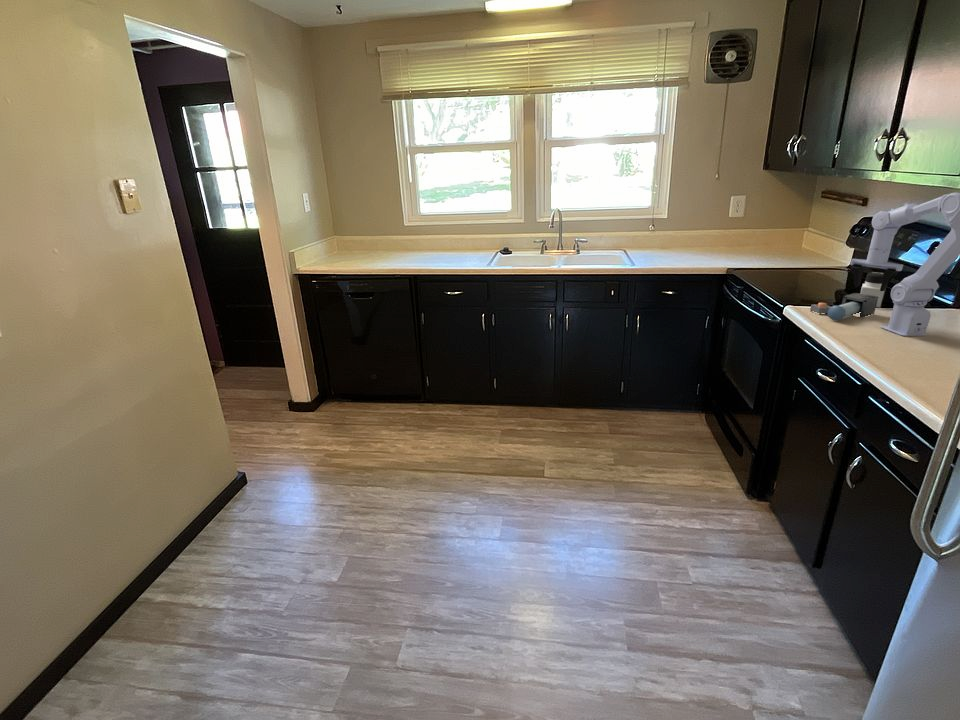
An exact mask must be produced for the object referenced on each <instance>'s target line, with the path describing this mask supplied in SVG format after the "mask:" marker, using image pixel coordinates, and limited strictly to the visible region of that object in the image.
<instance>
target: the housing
mask: <svg viewBox="0 0 960 720" xmlns="http://www.w3.org/2000/svg"><path fill="white" fill-rule="evenodd" d="M878 298H879V297H877V296H871V295H865V294H860V293H858V292H853V293H849V294H846V295H843V297H842V301H841V305H842V304H846V303H849V302H852V301H860V302H863V305H862V309H861V313H860V317H865V316H868V315H870V316H872V315H871V314H873V315H875V312H876V308H877V307H876V305H877V301H878ZM868 317H869V316H868ZM865 318H866V317H865Z"/></svg>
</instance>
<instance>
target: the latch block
mask: <svg viewBox="0 0 960 720" xmlns="http://www.w3.org/2000/svg"><path fill="white" fill-rule="evenodd" d="M831 307H832V306H830V305H827V306H826V307H818V304H810V310H812V311H814V312H817V313H828V310H829V309H830V308H831ZM810 310H809V311H810ZM814 312H813V313H814Z"/></svg>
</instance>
